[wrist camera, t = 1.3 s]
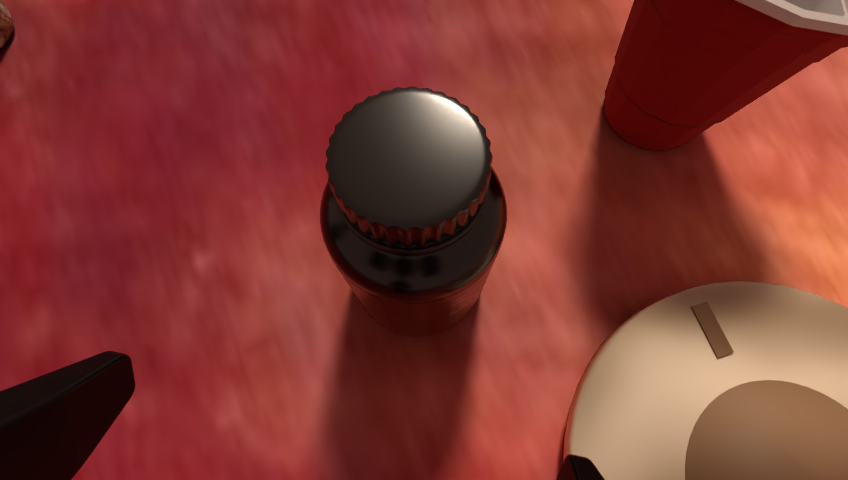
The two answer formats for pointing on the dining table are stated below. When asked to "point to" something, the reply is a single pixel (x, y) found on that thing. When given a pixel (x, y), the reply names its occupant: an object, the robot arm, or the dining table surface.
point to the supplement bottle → (412, 208)
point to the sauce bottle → (5, 24)
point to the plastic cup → (711, 61)
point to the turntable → (719, 389)
